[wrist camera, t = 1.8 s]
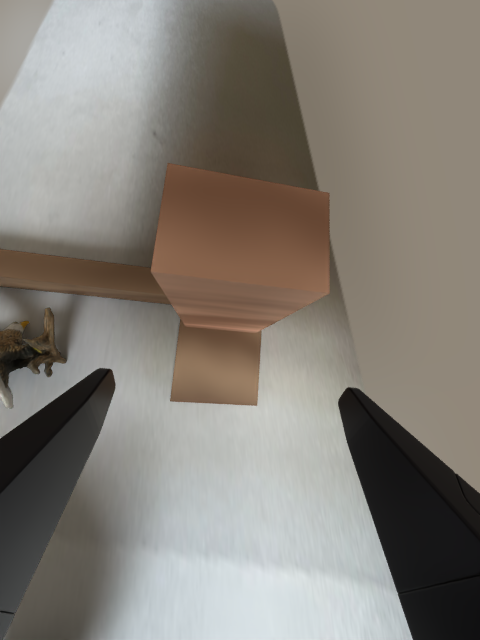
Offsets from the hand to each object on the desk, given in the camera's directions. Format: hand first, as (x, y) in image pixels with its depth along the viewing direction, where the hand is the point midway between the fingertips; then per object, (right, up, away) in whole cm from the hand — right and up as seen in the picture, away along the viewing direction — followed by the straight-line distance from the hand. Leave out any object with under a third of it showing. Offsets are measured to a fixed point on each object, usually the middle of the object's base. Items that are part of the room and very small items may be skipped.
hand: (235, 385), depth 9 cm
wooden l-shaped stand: (-10, +1, +10) cm, 14 cm away
